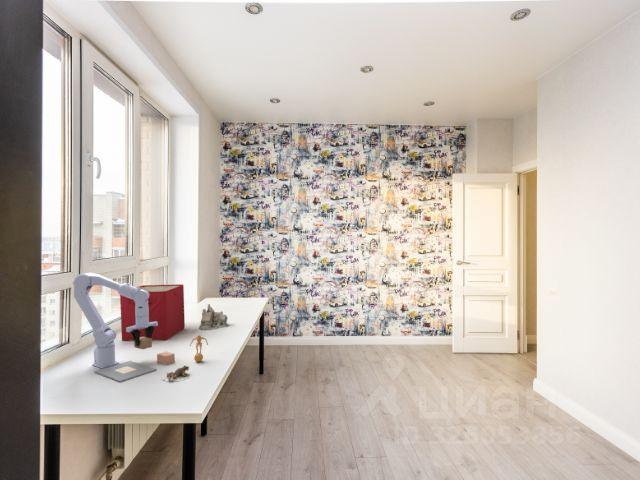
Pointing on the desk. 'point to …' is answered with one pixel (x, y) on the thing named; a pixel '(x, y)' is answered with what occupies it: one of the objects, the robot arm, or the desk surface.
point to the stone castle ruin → (212, 319)
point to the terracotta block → (166, 357)
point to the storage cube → (157, 311)
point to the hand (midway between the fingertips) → (143, 343)
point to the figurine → (198, 356)
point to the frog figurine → (177, 375)
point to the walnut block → (144, 343)
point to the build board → (125, 371)
